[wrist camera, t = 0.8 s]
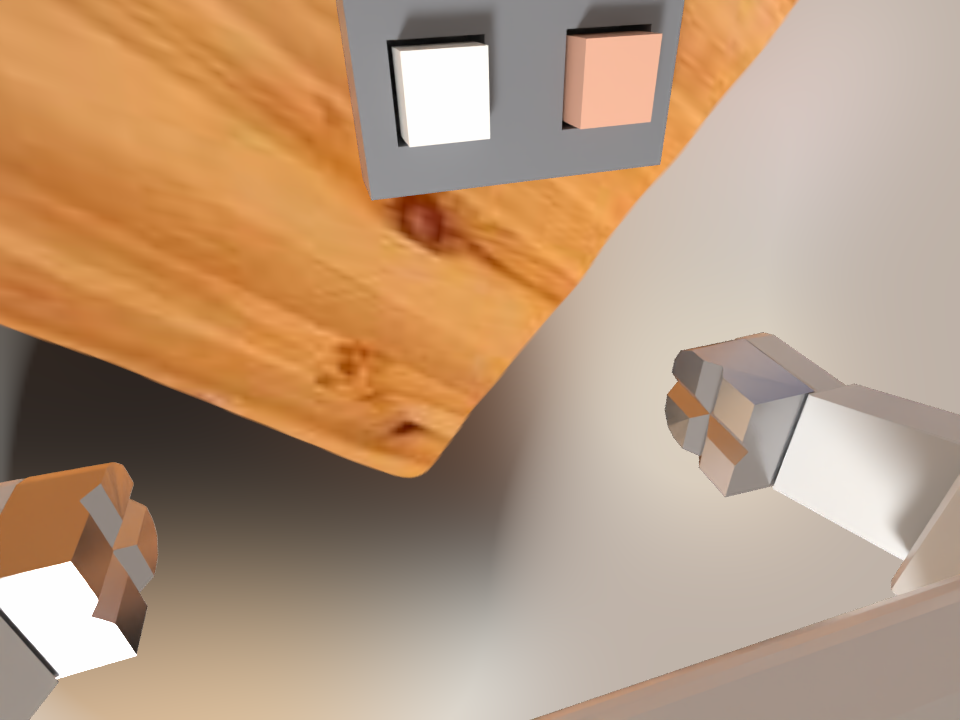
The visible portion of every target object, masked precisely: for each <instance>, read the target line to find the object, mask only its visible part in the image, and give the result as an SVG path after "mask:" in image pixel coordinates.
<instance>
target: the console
mask: <svg viewBox="0 0 960 720" xmlns="http://www.w3.org/2000/svg"><path fill="white" fill-rule="evenodd" d="M336 4H337V11H338V18H339V24H340V31H341V37H342V44H343V51H344V57H345V64H346V71H347V77H348V84H349V90H350V97H351V104H352V110H353V117H354V124H355V130H356V137H357V143H358V150H359V157H360V163H361V170H362V177H363V180H364V183H365V185H366V188H367V190H368V193H369V195H370V198H371V200H378V199H386V198H394V197H402V196H410V195H418V194H427V193H435V192H443V191H451V190H459V189H467V188H475V187H483V186H491V185H499V184H507V183H515V182H523V181H531V180H540V179H548V178H556V177H564V176H572V175H580V174H588V173H596V172H604V171H612V170H620V169H628V168H636V167H644V166H653V165H660V162H661V155H662V149H663V142H664V135H665V128H666V122H667V115H668V108H669V101H670V95H671V88H672V81H673V74H674V68H675V61H676V54H677V47H678V41H679V34H680V27H681V20H682V14H683V7H684V0H336ZM635 30H638V31H646V32H654V33H662V41H661V49H660V56H659V64H658V71H657V79H656V86H655V94H654V101H653V109H652V116H651V122H646V123H636V124H626V125H617V126H607V127H598V128H588V129H579V128H577V127H575V126H573V125H570V124H568V123H566V122H564V121H562V114H563V93H564V72H565V52H566V35H574V34H589V33H605V32H620V31H635ZM466 41H475V42H479V43H482V44H485V45H488V57H489V105H490V139H484V140H474V141H465V142H455V143H445V144H436V145H426V146H417V147H409V146H408V144H407V143H406V142H405V141H404V139H403V138H402V137H401V131H400V121H399V112H398V103H397V93H396V84H395V75H394V65H393V56H392V47H391V46H405V45H420V44H436V43H451V42H466Z"/></svg>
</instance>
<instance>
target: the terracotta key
mask: <svg viewBox="0 0 960 720" xmlns="http://www.w3.org/2000/svg"><path fill="white" fill-rule="evenodd" d="M661 41H662V33H654V32H646V31H638V30H635V31H620V32H605V33H589V34H574V35H566V52H565V72H564V93H563V114H562V121H564V122H566V123H568V124H570V125H573V126H575V127H577V128H579V129H588V128H598V127H607V126H617V125H626V124H636V123H646V122H651V116H652V109H653V101H654V94H655V86H656V79H657V71H658V64H659V56H660V49H661Z"/></svg>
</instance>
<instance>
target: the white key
mask: <svg viewBox="0 0 960 720" xmlns="http://www.w3.org/2000/svg"><path fill="white" fill-rule="evenodd" d="M391 47H392V56H393V65H394V75H395V84H396V93H397V103H398V112H399V121H400V131H401V137H402V138H403V139H404V141H405V142H406V143H407V144H408V146H409V147H417V146H426V145H436V144H445V143H455V142H465V141H474V140H484V139H490V105H489V57H488V45H485V44H482V43H479V42H475V41H466V42H451V43H436V44H420V45H405V46H391Z"/></svg>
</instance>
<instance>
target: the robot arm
mask: <svg viewBox="0 0 960 720" xmlns="http://www.w3.org/2000/svg"><path fill="white" fill-rule="evenodd" d="M672 373H673V375H674V376H675V378H676V379H677V381H678V382H677V383H676V384H675V385H674V387H673V388H672V389H671V390H670V392H669V393H668V394H667V399H666V405H665V415H666V420H667V425H668V428H669V430H670V431H671V433H672V436H673V438H674V439H675V440H676V441H677V443H678V444H679V445H680V446H681V447H682V448H683V449H685V450H687V451H689V452H691V453H694V454H696V455H698V456H699V468H700V469H701V470H702V471H703V473H704V474H705V475H706V476H707V477H708V478H709V480H710V481H711V482H712V483H713V484H714V485H715V486H716V488H717V489H718V490H719V491H720V492H721V493H722V494H723V495H724V497H728V496H732V495H736V494H741V493H745V492H749V491H753V490H758V489H761V488H766V487H770V486H773V489H774V490H776V491H778V492H780V493H782V494H783V495H785V496H787V497H789V498H791V499H792V500H794V501H796V502H798V503H800V504H801V505H803V506H805V507H807V508H809V509H811V510H812V511H814V512H816V513H818V514H820V515H821V516H823V517H825V518H827V519H829V520H831V521H832V522H834V523H836V524H838V525H840V526H841V527H843V528H845V529H847V530H849V531H851V532H852V533H854V534H856V535H858V536H860V537H861V538H863V539H865V540H867V541H869V542H871V543H872V544H874V545H876V546H878V547H880V548H881V549H883V550H885V551H887V552H889V553H890V554H892V555H894V556H896V557H898V558H900V559H901V560H904V561H903V563H902V564H901V566H900V568H899V569H898V571H897V572H896V574H895V575H894V577H893V579H892V580H891V590H892V591H893V592H894V593H895V594H896V596H894V597H891V598H888V599H885V600H882V601H880V602H876V603H873V604H871V605H868V606H865V607H862V608H859V609H856V610H853V611H850V612H847V613H844V614H841V615H838V616H835V617H832V618H829V619H827V620H823V621H821V622H818V623H814V624H811V625H809V626H806V627H803V628H800V629H797V630H794V631H791V632H788V633H785V634H782V635H779V636H776V637H773V638H770V639H767V640H764V641H762V642H758V643H755V644H753V645H750V646H747V647H744V648H741V649H738V650H735V651H732V652H729V653H726V654H723V655H720V656H717V657H714V658H711V659H708V660H705V661H702V662H699V663H697V664H693V665H690V666H688V667H685V668H682V669H679V670H676V671H673V672H670V673H667V674H664V675H661V676H658V677H655V678H652V679H649V680H646V681H643V682H640V683H637V684H635V685H631V686H629V687H626V688H623V689H620V690H617V691H614V692H611V693H608V694H605V695H602V696H599V697H596V698H593V699H590V700H587V701H585V702H581V703H578V704H575V705H573V706H570V707H567V708H564V709H561V710H558V711H555V712H552V713H549V714H546V715H543V716H540V717H537V718H534V719H531V720H960V415H959V414H955V413H952V412H949V411H945V410H942V409H939V408H935V407H932V406H928V405H925V404H922V403H918V402H915V401H911V400H908V399H905V398H901V397H898V396H895V395H891V394H888V393H884V392H881V391H878V390H874V389H870V388H868V387H864V386H861V385H857V384H851V385H845V384H844V383H842V382H840V381H839V380H838V379H836V378H835V377H833V376H832V375H831V374H829V373H828V372H826V371H825V370H823V369H822V368H820V367H819V366H818V365H816V364H815V363H813V362H812V361H811V360H809V359H808V358H806V357H805V356H803V355H802V354H800V353H799V352H797V351H796V350H795V349H793V348H792V347H790V346H789V345H788V344H786V343H785V342H783V341H782V340H780V339H779V338H778V337H776V336H775V335H772V334H768V333H764V332H762V333H758V334H753V335H749V336H744V337H740V338H736V339H735V340H730V341H725V342H721V343H716V344H711V345H706V346H701V347H696V348H691V349H686V350H681V351H680V352H679V354H678V355H677V357H676V358H675V360H674V365H673V369H672ZM133 485H134V483H133V481H132V479H131V478H130V476H129V474H128V472H127V471H126V469H125V467H124V466H123V465H121V464H118V463H115V462H112V463H106V464H100V465H95V466H89V467H84V468H79V469H72V470H66V471H61V472H55V473H50V474H44V475H38V476H33V477H28V478H26V479H18V480H13V481H8V482H2V483H0V720H30V719H31V717H32V716H33V715H34V713H35V712H36V711H37V710H38V708H39V707H40V706H41V704H42V703H43V702H44V700H45V699H46V698H47V697H48V695H49V694H50V693H51V691H52V690H53V689H54V688H55V686H56V685H57V684H58V680H57V678H60V677H64V676H67V675H70V674H74V673H77V672H81V671H84V670H87V669H91V668H94V667H98V666H101V665H104V664H108V663H111V662H115V661H118V660H122V659H125V658H128V657H131V656H135V655H136V654H137V650H138V645H139V641H140V637H141V633H142V628H143V624H144V620H145V615H146V611H147V604H146V603H145V601H144V600H143V598H142V596H141V594H140V593H139V592H140V591H141V590H142V589H143V588H144V587H145V586H146V585H147V583H148V582H149V581H150V580H151V579H152V578H153V577H154V575H155V570H156V565H157V560H158V540H157V532H156V529H155V525H154V522H153V519H152V517H151V515H150V513H149V511H148V509H147V507H146V506H144V505H142V504H140V503H137V502H135V501H133V500H131V499H129V498H130V495H131V491H132V488H133Z"/></svg>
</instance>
